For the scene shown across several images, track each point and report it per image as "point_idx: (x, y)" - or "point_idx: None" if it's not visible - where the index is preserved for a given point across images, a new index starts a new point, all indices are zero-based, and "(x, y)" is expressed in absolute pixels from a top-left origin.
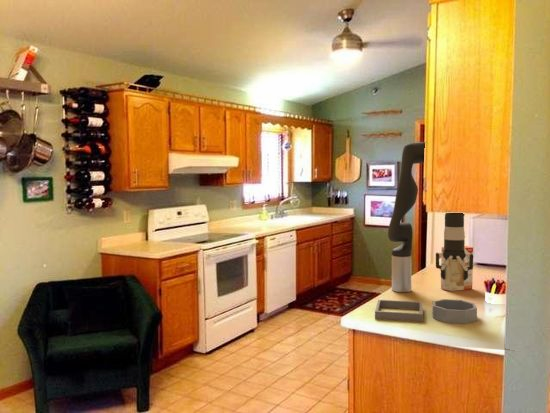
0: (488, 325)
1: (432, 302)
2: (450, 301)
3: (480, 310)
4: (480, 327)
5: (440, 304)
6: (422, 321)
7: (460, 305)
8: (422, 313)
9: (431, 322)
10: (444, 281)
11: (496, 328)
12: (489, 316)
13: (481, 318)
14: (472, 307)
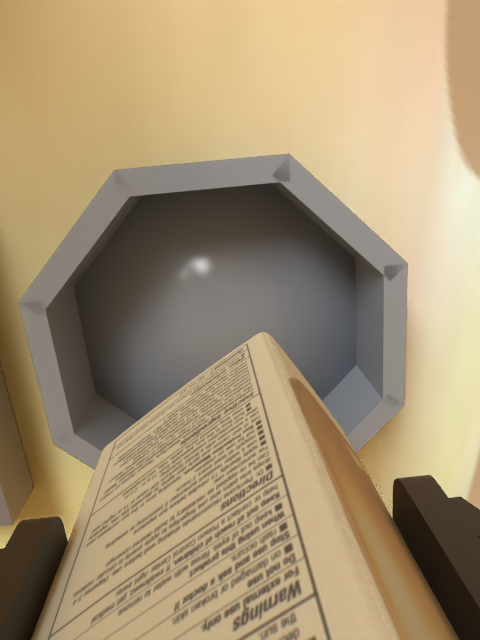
0: (425, 426)
1: (24, 319)
2: (184, 190)
3: (435, 50)
4: (373, 475)
5: (98, 244)
6: (31, 490)
7: (275, 184)
8: (6, 507)
9: (88, 476)
10: (82, 520)
11: (459, 465)
12: (472, 220)
13: (407, 290)
14: (373, 285)
